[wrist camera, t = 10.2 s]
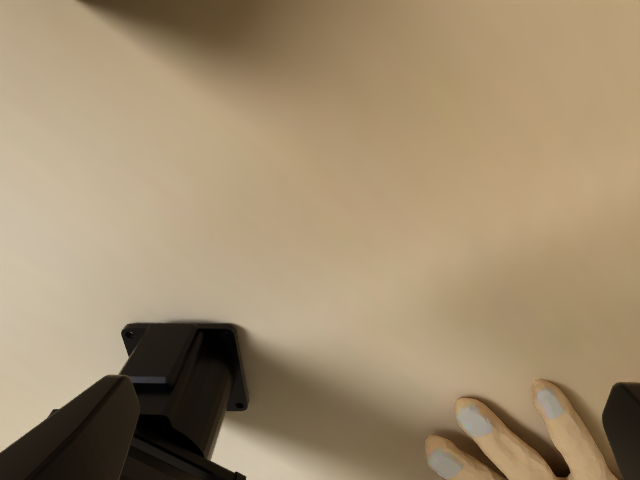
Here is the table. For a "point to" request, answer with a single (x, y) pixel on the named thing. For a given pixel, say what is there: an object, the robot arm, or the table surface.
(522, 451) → the hand model
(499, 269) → the table surface
